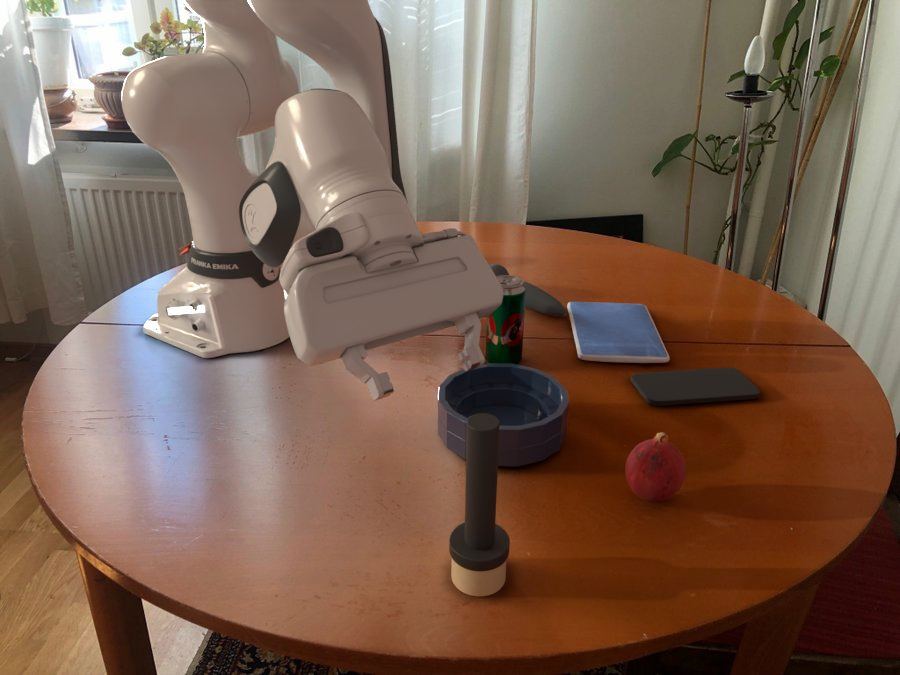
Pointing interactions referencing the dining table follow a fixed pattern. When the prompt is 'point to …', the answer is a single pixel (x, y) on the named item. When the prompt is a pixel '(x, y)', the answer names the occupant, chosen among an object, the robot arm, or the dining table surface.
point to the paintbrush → (535, 296)
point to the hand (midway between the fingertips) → (431, 381)
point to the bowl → (506, 410)
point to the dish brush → (480, 515)
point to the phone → (694, 386)
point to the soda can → (507, 324)
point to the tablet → (616, 333)
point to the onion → (655, 469)
